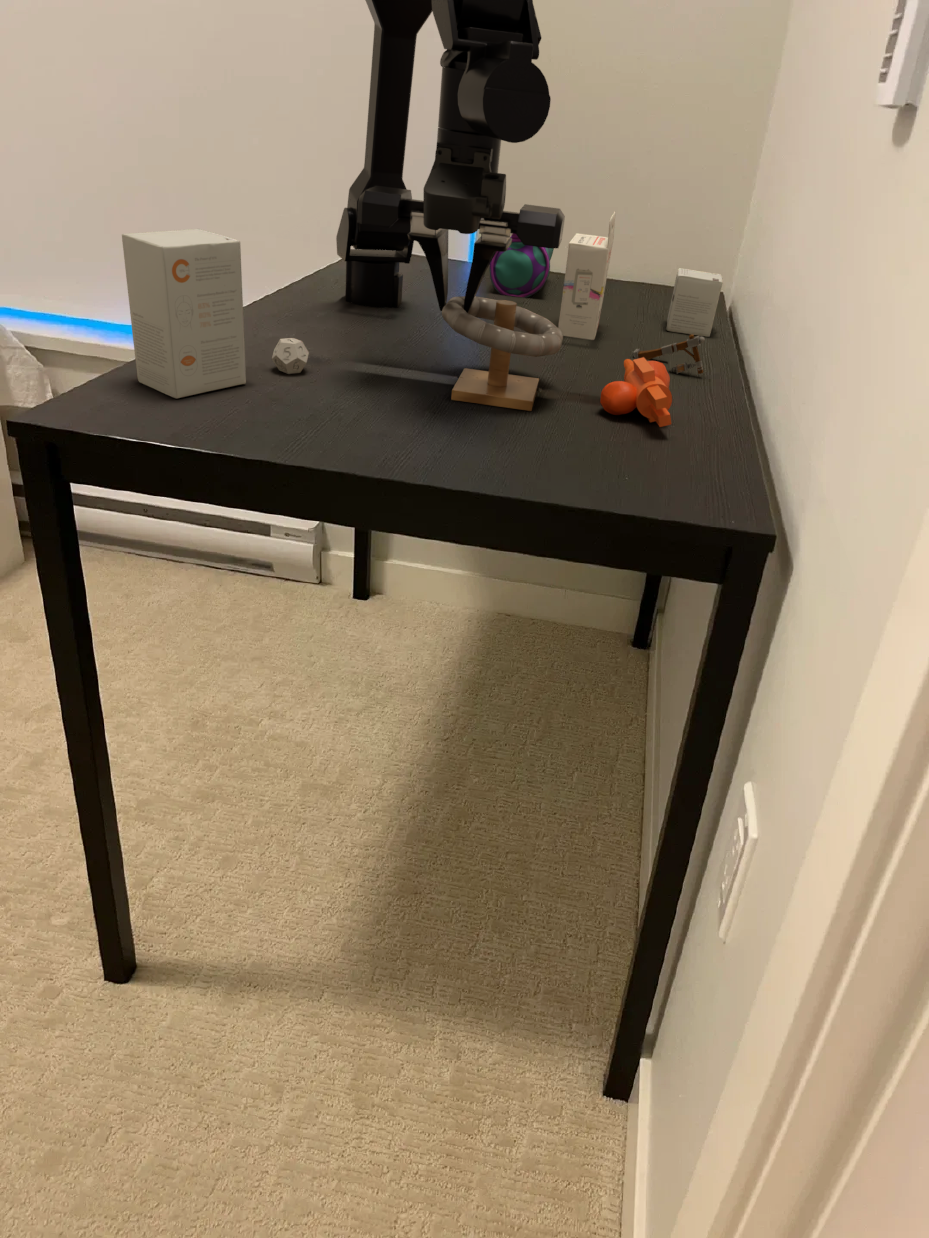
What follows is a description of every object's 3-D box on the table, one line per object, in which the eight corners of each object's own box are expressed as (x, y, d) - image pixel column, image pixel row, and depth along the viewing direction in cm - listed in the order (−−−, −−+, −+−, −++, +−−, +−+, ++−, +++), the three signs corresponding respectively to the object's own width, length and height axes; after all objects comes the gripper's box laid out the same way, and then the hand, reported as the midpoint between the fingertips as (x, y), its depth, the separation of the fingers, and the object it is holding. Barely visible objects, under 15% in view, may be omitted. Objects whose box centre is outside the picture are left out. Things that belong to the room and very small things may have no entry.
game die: (281, 377, 88) (280, 347, 86) (267, 366, 91) (266, 336, 89) (314, 374, 90) (314, 345, 88) (299, 364, 92) (299, 335, 91)
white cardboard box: (666, 321, 126) (677, 267, 122) (709, 328, 125) (722, 273, 121) (665, 331, 121) (677, 274, 117) (710, 337, 120) (723, 281, 116)
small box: (207, 368, 88) (199, 227, 81) (247, 385, 85) (242, 240, 78) (134, 381, 83) (119, 232, 76) (175, 400, 80) (162, 245, 73)
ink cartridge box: (560, 327, 117) (578, 206, 110) (598, 332, 117) (618, 211, 109) (553, 342, 110) (572, 214, 102) (593, 348, 109) (615, 219, 102)
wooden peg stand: (451, 400, 87) (459, 305, 82) (463, 377, 94) (471, 289, 89) (531, 411, 86) (544, 317, 82) (538, 387, 93) (550, 299, 89)
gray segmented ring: (431, 331, 82) (436, 310, 81) (452, 304, 92) (457, 285, 91) (554, 370, 82) (561, 349, 81) (562, 338, 92) (568, 320, 91)
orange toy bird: (689, 378, 80) (657, 343, 90) (608, 398, 81) (586, 361, 91) (694, 430, 83) (663, 390, 93) (616, 449, 84) (593, 407, 94)
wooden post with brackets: (709, 372, 101) (702, 333, 100) (641, 388, 105) (632, 350, 103) (711, 369, 103) (704, 330, 101) (644, 384, 106) (636, 347, 105)
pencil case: (495, 273, 144) (502, 209, 139) (549, 280, 144) (558, 216, 139) (484, 300, 127) (491, 228, 122) (545, 307, 126) (555, 235, 121)
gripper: (343, 122, 72) (339, 317, 81) (569, 149, 71) (542, 345, 79) (375, 118, 82) (369, 293, 90) (575, 142, 80) (550, 318, 89)
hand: (454, 312), depth 87 cm, fingers closed on gray segmented ring, 2 cm apart
